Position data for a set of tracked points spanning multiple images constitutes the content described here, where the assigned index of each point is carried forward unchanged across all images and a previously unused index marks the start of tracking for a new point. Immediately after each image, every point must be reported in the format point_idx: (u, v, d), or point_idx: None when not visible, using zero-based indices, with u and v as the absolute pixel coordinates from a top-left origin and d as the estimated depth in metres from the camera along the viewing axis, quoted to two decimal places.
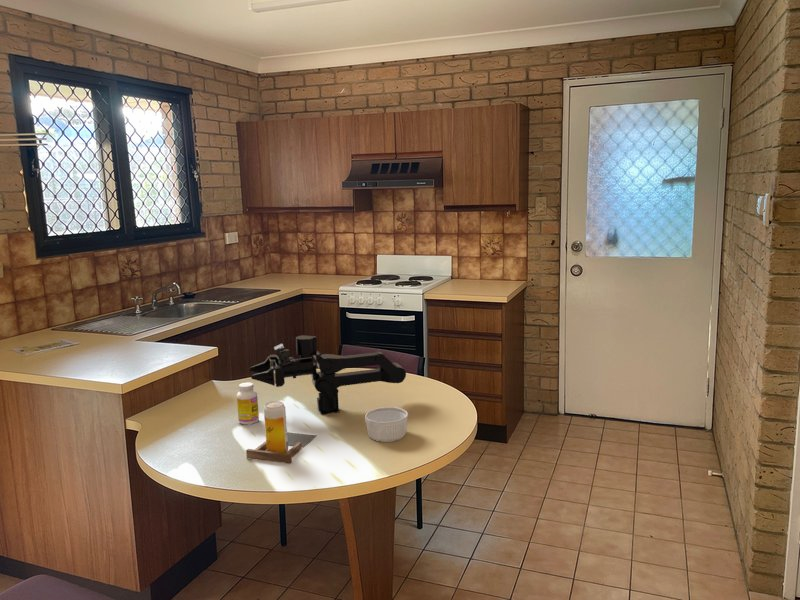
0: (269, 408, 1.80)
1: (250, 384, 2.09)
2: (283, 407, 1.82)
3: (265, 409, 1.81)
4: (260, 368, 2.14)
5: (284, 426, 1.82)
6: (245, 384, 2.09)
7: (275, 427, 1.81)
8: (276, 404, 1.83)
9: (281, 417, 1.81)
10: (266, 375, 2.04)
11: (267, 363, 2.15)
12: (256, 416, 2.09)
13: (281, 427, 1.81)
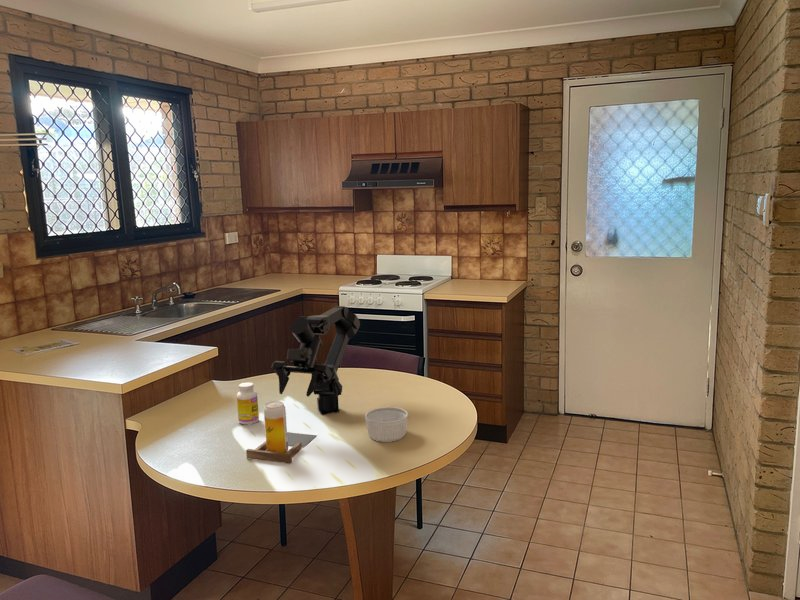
0: (269, 408, 1.80)
1: (250, 384, 2.09)
2: (283, 407, 1.82)
3: (265, 409, 1.81)
4: (284, 383, 1.98)
5: (284, 426, 1.82)
6: (245, 384, 2.09)
7: (275, 427, 1.81)
8: (276, 404, 1.83)
9: (281, 417, 1.81)
10: (314, 381, 1.95)
11: (283, 374, 1.98)
12: (256, 416, 2.09)
13: (281, 427, 1.81)
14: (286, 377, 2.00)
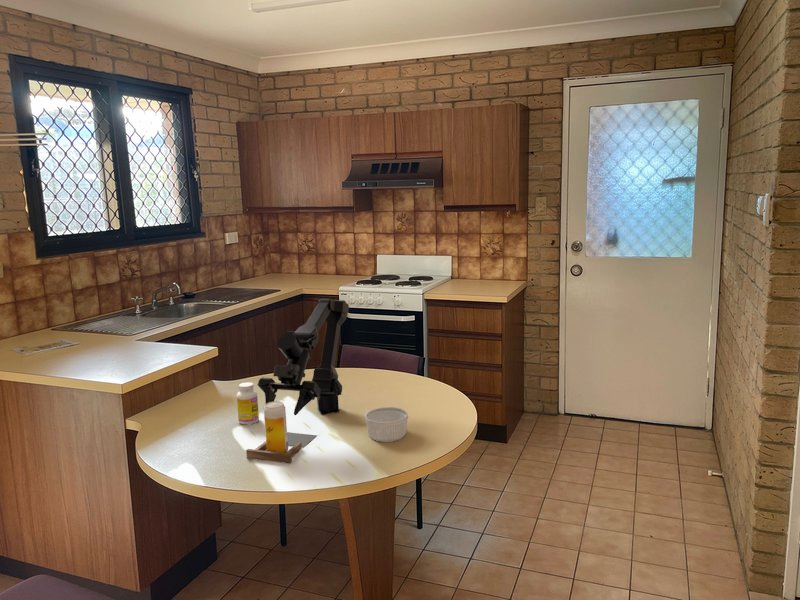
0: (269, 408, 1.80)
1: (250, 384, 2.09)
2: (283, 407, 1.82)
3: (265, 409, 1.81)
4: (270, 401, 1.90)
5: (284, 426, 1.82)
6: (245, 384, 2.09)
7: (275, 427, 1.81)
8: (276, 404, 1.83)
9: (281, 417, 1.81)
10: (302, 399, 1.87)
11: (270, 391, 1.90)
12: (256, 416, 2.09)
13: (281, 427, 1.81)
14: (273, 394, 1.92)
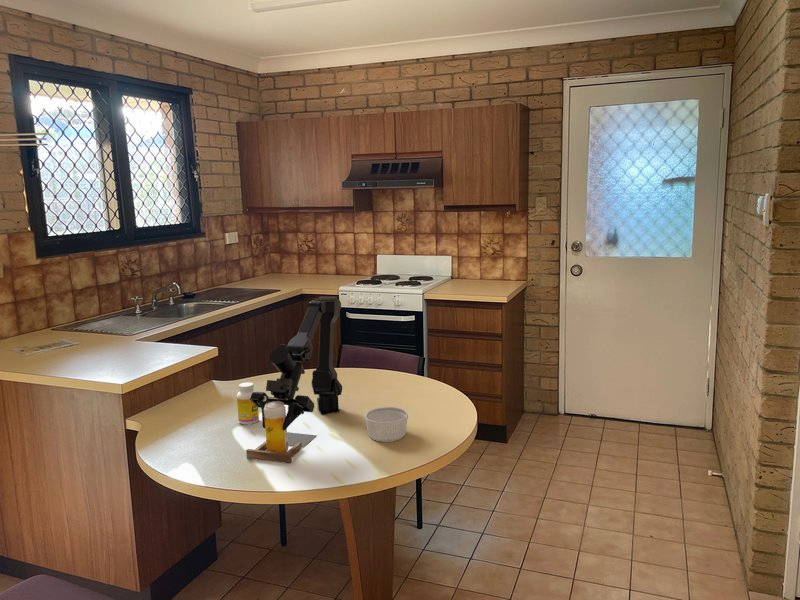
0: (269, 408, 1.80)
1: (250, 384, 2.09)
2: (283, 407, 1.82)
3: (265, 409, 1.81)
4: None
5: None
6: (245, 384, 2.09)
7: (275, 427, 1.81)
8: (276, 404, 1.83)
9: (281, 417, 1.81)
10: (291, 414, 1.83)
11: None
12: (256, 416, 2.09)
13: (281, 427, 1.81)
14: None
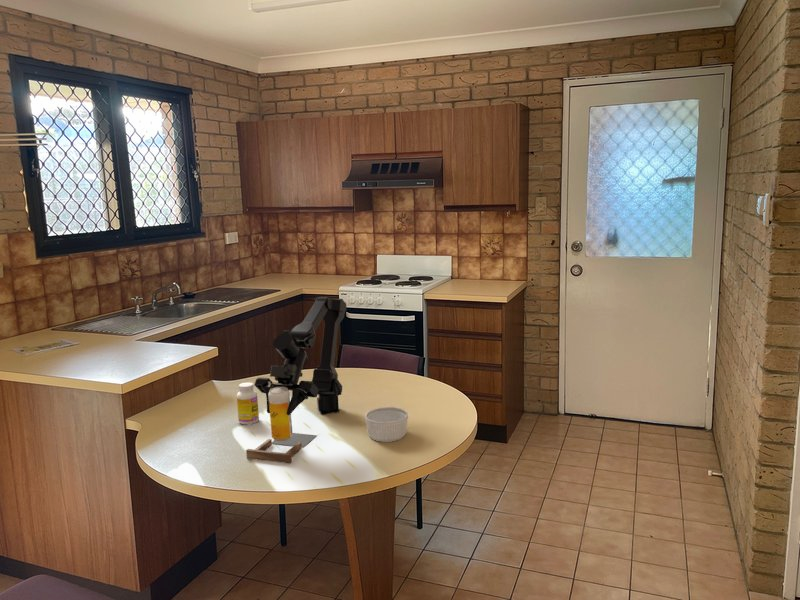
0: (273, 393, 1.82)
1: (250, 384, 2.09)
2: (287, 392, 1.84)
3: (269, 394, 1.83)
4: None
5: None
6: (245, 384, 2.09)
7: (279, 412, 1.83)
8: (280, 389, 1.85)
9: (285, 402, 1.83)
10: (295, 399, 1.86)
11: None
12: (256, 416, 2.09)
13: (285, 412, 1.83)
14: None
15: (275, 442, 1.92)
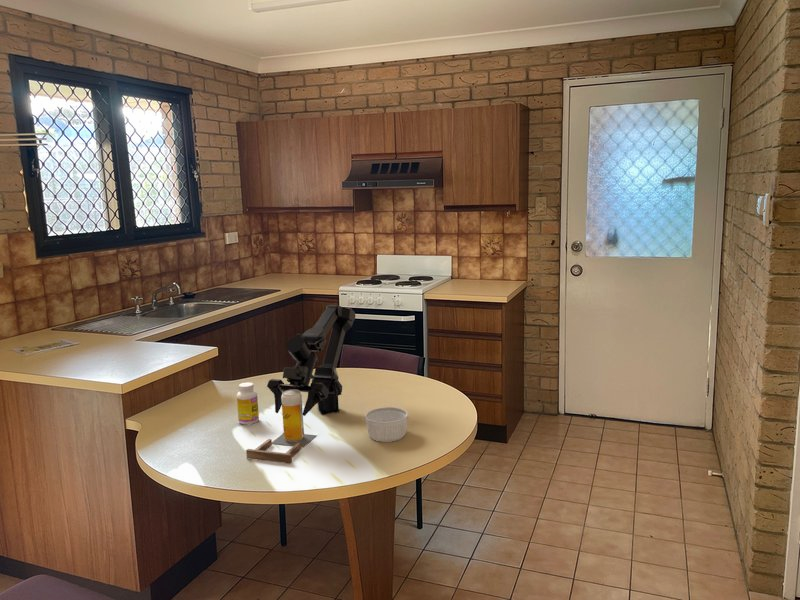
0: (286, 396, 1.89)
1: (250, 384, 2.09)
2: (299, 395, 1.91)
3: (282, 397, 1.90)
4: (280, 401, 1.95)
5: (300, 413, 1.92)
6: (245, 384, 2.09)
7: (292, 414, 1.90)
8: (293, 392, 1.92)
9: (297, 404, 1.90)
10: (311, 400, 1.92)
11: (279, 392, 1.95)
12: (256, 416, 2.09)
13: (297, 413, 1.91)
14: None
15: (275, 442, 1.92)
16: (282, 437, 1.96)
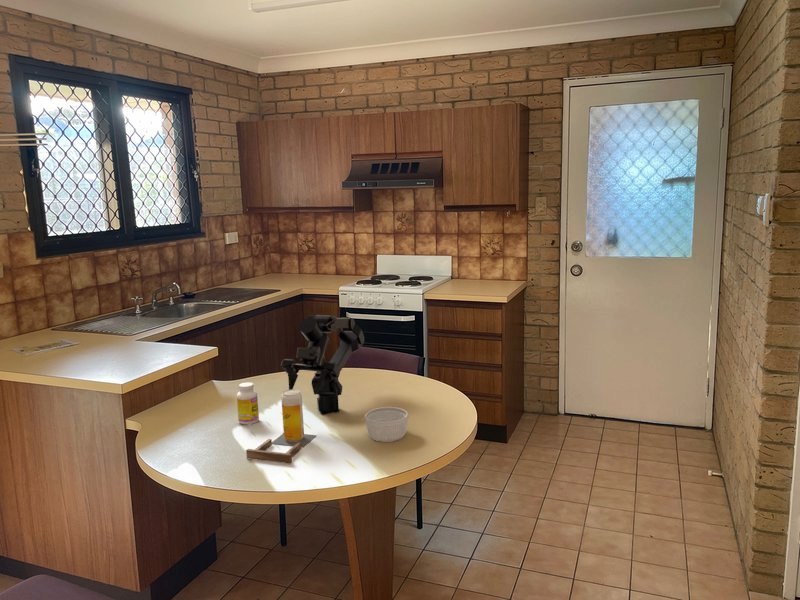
0: (286, 396, 1.89)
1: (250, 384, 2.09)
2: (299, 395, 1.91)
3: (282, 397, 1.90)
4: (293, 380, 2.03)
5: (300, 413, 1.92)
6: (245, 384, 2.09)
7: (292, 414, 1.90)
8: (293, 392, 1.92)
9: (297, 404, 1.90)
10: (323, 379, 2.00)
11: (293, 371, 2.04)
12: (256, 416, 2.09)
13: (297, 413, 1.91)
14: (295, 374, 2.05)
15: (275, 442, 1.92)
16: (282, 437, 1.96)
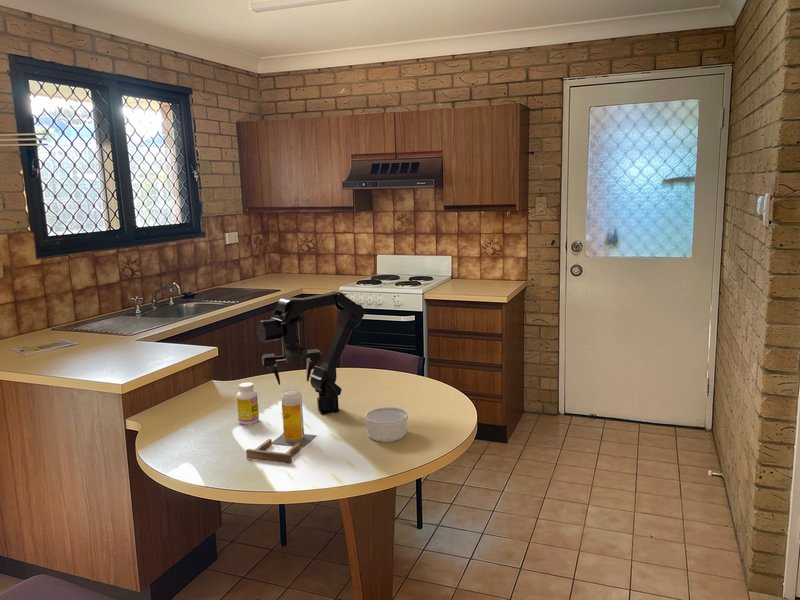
0: (286, 396, 1.89)
1: (250, 384, 2.09)
2: (299, 395, 1.91)
3: (282, 397, 1.90)
4: None
5: (300, 413, 1.92)
6: (245, 384, 2.09)
7: (292, 414, 1.90)
8: (293, 392, 1.92)
9: (297, 404, 1.90)
10: None
11: None
12: (256, 416, 2.09)
13: (297, 413, 1.91)
14: None
15: (275, 442, 1.92)
16: (282, 437, 1.96)
